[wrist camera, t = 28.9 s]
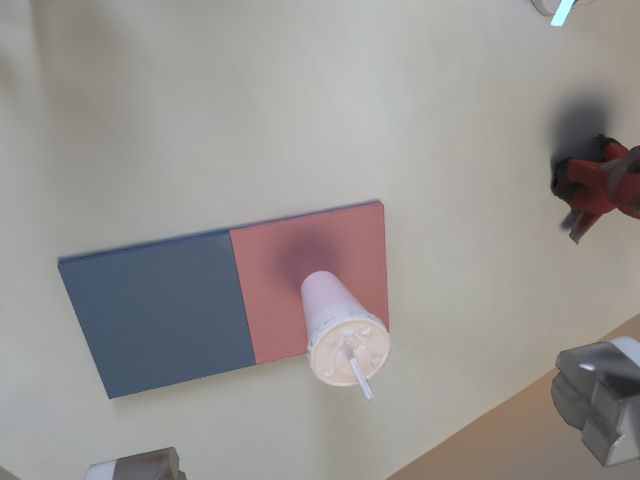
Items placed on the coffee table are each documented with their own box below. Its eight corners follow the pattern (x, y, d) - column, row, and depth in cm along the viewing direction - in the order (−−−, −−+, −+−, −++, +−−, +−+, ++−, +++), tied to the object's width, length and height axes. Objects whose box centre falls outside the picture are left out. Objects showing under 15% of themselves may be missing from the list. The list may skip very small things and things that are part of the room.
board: (380, 201, 43) (383, 204, 42) (386, 329, 49) (389, 333, 48) (59, 261, 38) (56, 265, 37) (110, 393, 44) (109, 399, 44)
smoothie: (292, 325, 45) (330, 442, 33) (280, 266, 42) (316, 370, 30) (357, 308, 46) (417, 415, 34) (349, 250, 43) (413, 343, 31)
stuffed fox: (539, 245, 49) (635, 308, 39) (540, 139, 44) (651, 178, 33) (604, 224, 50) (715, 280, 39) (613, 118, 45) (742, 150, 34)
